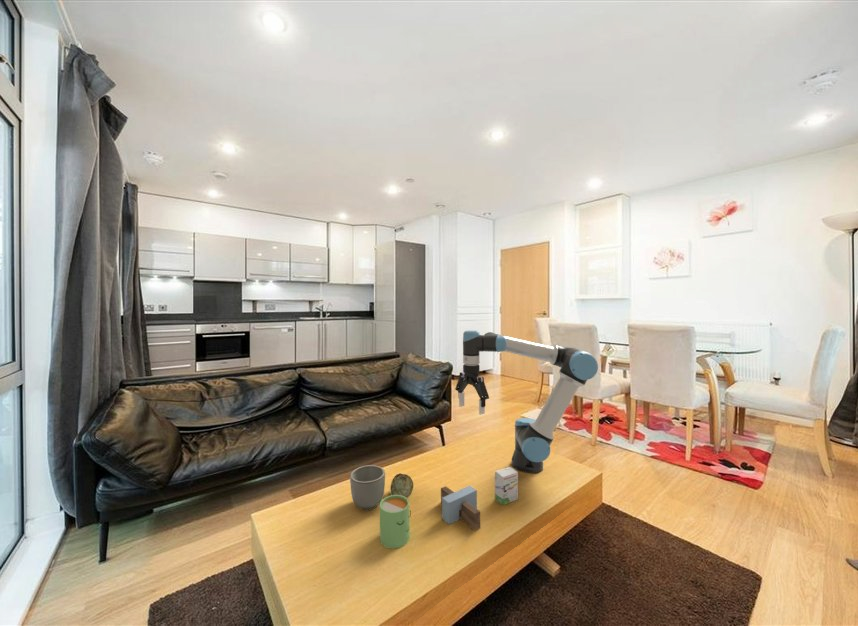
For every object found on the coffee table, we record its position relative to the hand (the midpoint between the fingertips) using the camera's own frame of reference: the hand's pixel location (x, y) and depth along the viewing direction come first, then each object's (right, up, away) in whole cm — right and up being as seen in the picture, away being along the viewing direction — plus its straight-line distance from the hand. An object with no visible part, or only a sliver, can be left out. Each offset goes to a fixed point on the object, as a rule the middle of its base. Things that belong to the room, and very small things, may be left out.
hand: (471, 409), depth 150 cm
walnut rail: (-8, -32, -26) cm, 42 cm away
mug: (-31, -33, -37) cm, 58 cm away
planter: (-44, -33, -20) cm, 58 cm away
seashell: (-31, -33, -14) cm, 47 cm away
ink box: (+12, -32, -16) cm, 38 cm away
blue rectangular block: (-8, -32, -26) cm, 42 cm away
